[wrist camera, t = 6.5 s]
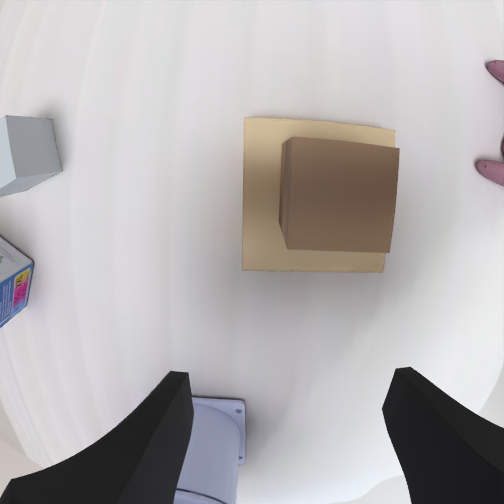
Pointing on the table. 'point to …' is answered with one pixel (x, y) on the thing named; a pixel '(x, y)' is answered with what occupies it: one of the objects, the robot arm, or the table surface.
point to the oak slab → (268, 196)
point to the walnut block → (337, 195)
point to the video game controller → (494, 169)
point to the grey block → (26, 153)
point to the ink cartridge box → (13, 281)
